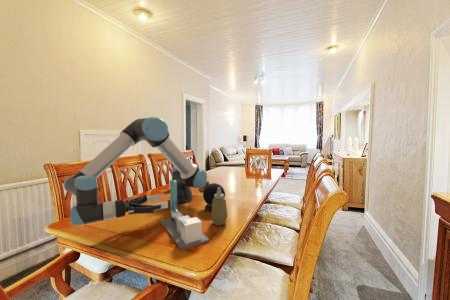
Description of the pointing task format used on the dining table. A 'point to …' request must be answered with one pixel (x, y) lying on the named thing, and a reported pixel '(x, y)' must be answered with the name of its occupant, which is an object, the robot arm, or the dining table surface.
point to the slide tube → (174, 201)
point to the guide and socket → (185, 231)
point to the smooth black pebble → (211, 194)
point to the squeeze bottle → (219, 208)
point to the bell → (204, 186)
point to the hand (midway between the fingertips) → (163, 200)
